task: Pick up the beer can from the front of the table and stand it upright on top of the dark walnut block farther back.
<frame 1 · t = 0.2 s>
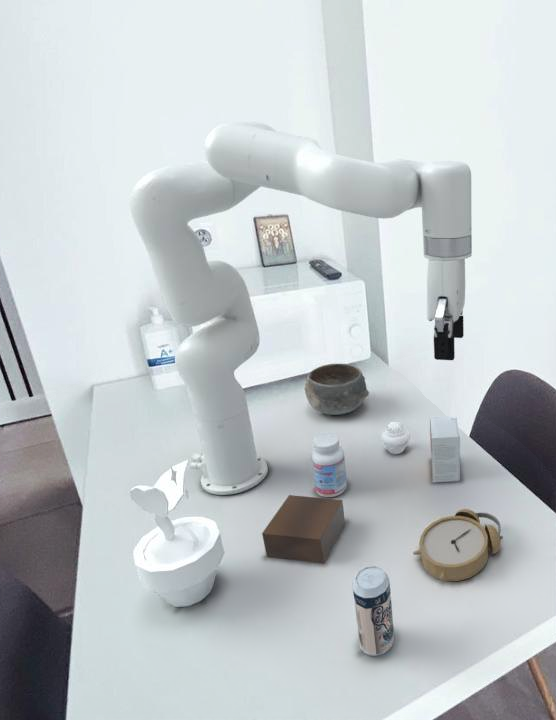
hand: (449, 347, 92), 31 cm above the table, tool pointing down, fingers open, 9 cm apart
block: (307, 538, 94), on the table
bowl: (339, 409, 136), on the table
alarm clock: (462, 551, 91), on the table
small box: (445, 471, 112), on the table
muffin: (396, 451, 119), on the table
pill bottle: (332, 489, 107), on the table
potted plant: (193, 589, 84), on the table
beer can: (377, 643, 75), on the table
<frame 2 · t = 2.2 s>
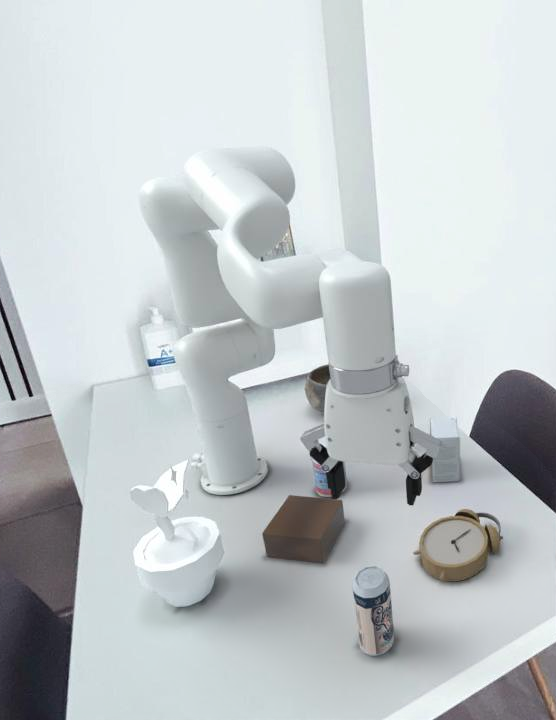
hand: (375, 495, 69), 23 cm above the table, tool pointing down, fingers open, 9 cm apart
nothing on the table moved.
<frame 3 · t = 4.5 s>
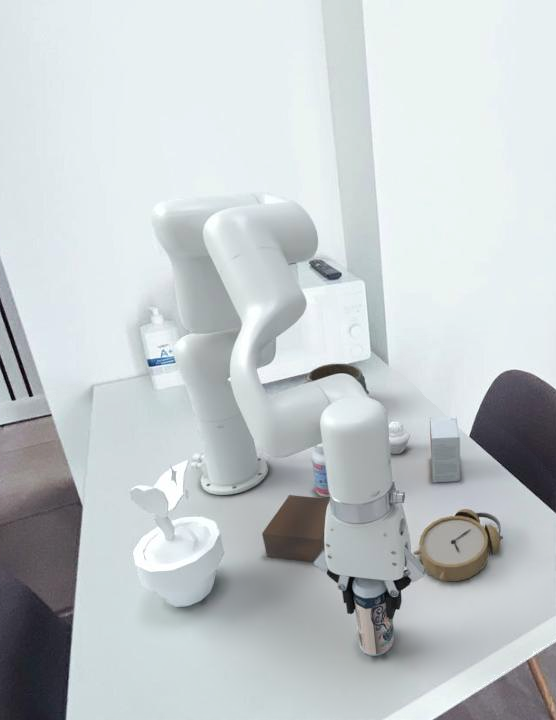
hand: (373, 606, 73), 7 cm above the table, tool pointing down, fingers closed on beer can, 4 cm apart
beer can: (377, 643, 75), on the table, touching gripper
everything else where it was.
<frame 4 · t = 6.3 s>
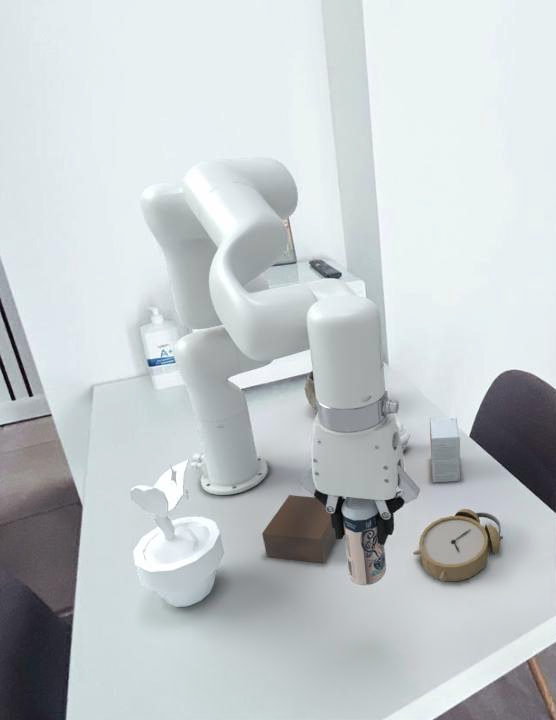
hand: (363, 533, 68), 19 cm above the table, tool pointing down, fingers closed on beer can, 4 cm apart
beer can: (367, 574, 71), point 12 cm above the table, touching gripper
everything else where it was.
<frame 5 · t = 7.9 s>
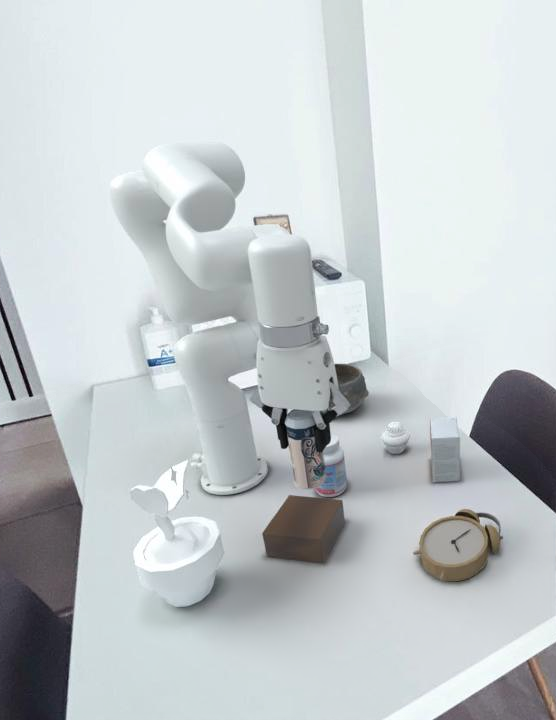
hand: (305, 444, 80), 23 cm above the table, tool pointing down, fingers closed on beer can, 4 cm apart
beer can: (310, 483, 83), point 16 cm above the table, touching gripper
everything else where it was.
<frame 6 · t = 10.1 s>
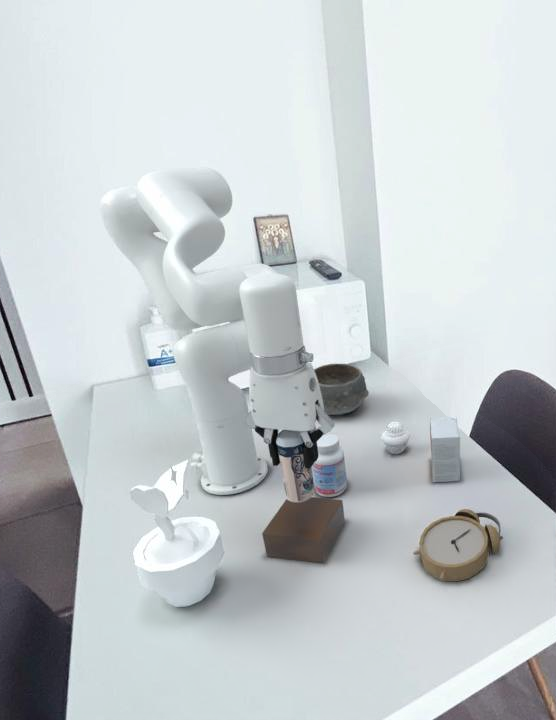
hand: (295, 461, 88), 16 cm above the table, tool pointing down, fingers closed on beer can, 4 cm apart
beer can: (300, 496, 90), point 9 cm above the table, touching gripper
everything else where it was.
when the fingers open (12 cm above the table, at t = 11.6 s): beer can stays where it is, resting on block.
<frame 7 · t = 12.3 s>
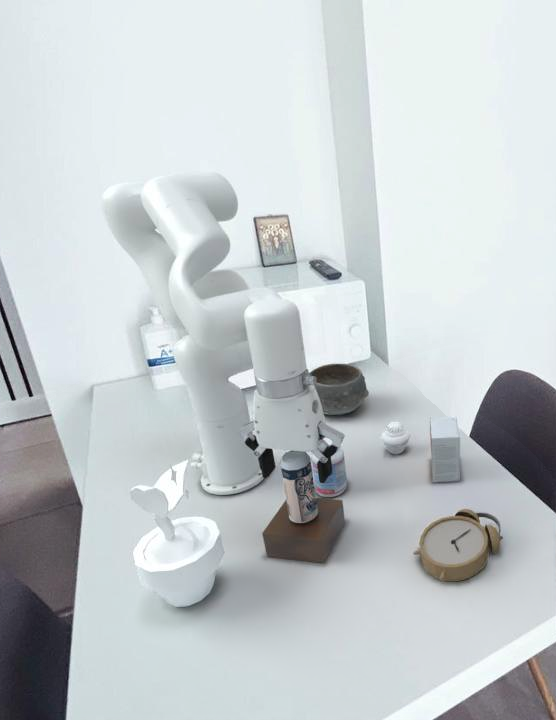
hand: (297, 475, 89), 13 cm above the table, tool pointing down, fingers open, 9 cm apart
block: (307, 538, 94), on the table, touching beer can
beer can: (304, 516, 92), point 5 cm above the table, touching block
everything else where it was.
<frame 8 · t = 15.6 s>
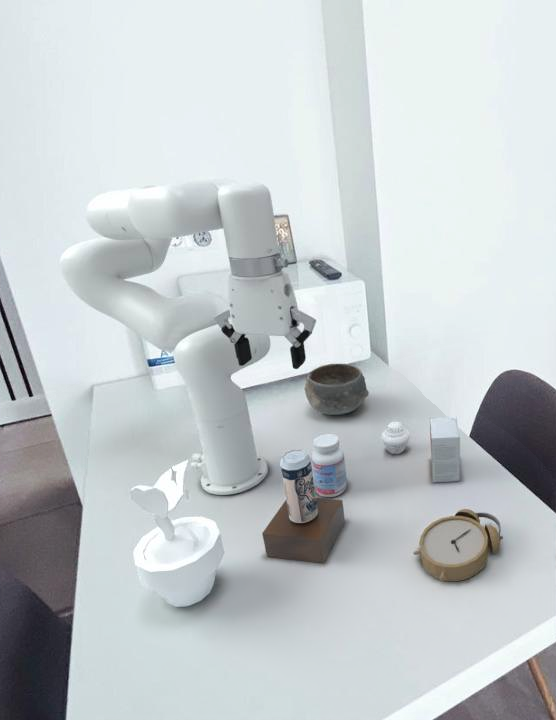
hand: (272, 364, 93), 28 cm above the table, tool pointing down, fingers open, 9 cm apart
nothing on the table moved.
at the end: beer can 0.0 cm off-centre on the block, point 4.8 cm above the block's base; beer can tilted 0°; the gripper is holding nothing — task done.
